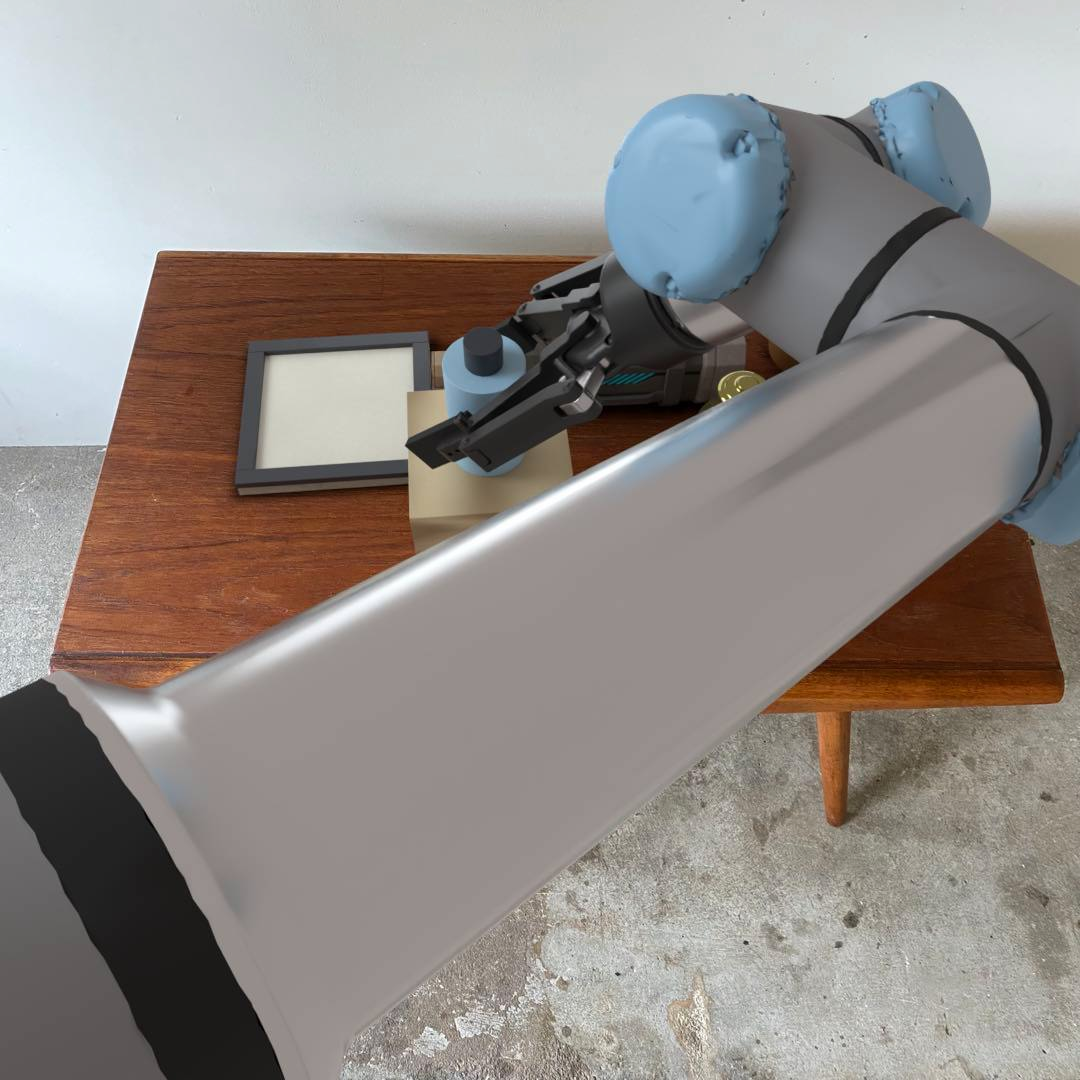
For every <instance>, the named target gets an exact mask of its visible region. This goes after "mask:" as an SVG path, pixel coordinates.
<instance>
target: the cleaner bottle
mask: <svg viewBox="0 0 1080 1080" xmlns="http://www.w3.org/2000/svg"><path fill="white" fill-rule="evenodd" d="M445 351H446V352H445V354H444V357H443V360H442V369H443V378H444V388H445V397H446V407H447V416H448V419H450V418H452V417H454V416H456V415H457V414H458V413H459V412H460V411H462V412H464V411H466V410H468V411H469V412H470V413H471V414H472V415H474V414H475V413H476V412H478V411H479V410H480V409H481V408H483V407H484V406H485V405H486V404H488V403H489V402H490V401H491V400H493V399H494V398H495V397H496V396H498V395H499V394H500V393H501V392H503V391H504V390H505V389H507V388H508V387H509V386H510V385H512V384H513V383H514V382H515V381H517V380H518V379H519V378H520V377H522V376H523V375H524V374H525V373H526V359H525V355H524V353H523V351H522V349H521V348H520V347H519V346H518V345H517V344H516V343H515V342H514V341H512V340H511V339H509V338H507V337H505V336H503V335H501V334H500V333H499V332H498V331H496V330H495V329H492V327H490V326H489V327H488V326H478V327H475V328H472V329H470V330H469V331H467V332H466V333H465V335H464V336H462V337H460V338H458V339H456V340H455V341H453V342H452V343H451V344H450V346H449V347H448V348H447V349H446V350H445ZM524 455H525V452H524V453H523V454H521V455H519V456H517V457H516V458H514V459H512V460H510V461H508V462H507V463H505V464H503V465H501V466H500V467H498V468H496V469H494V470H492V471H491V472H488V473H487V472H485V471H484V470H483V469H482V468H481V467H479V466H478V465H477V464H476V463H475V462H474V461H472V460H471V459H470V458H469V457H466V458H463V459H461V460H459V461H456V463H457V464H458V465H459V466H460V467H461V468H462V469H464V470H465V471H467V472H469V473H471V474H474V475H478V476H485V477H491V476H498V475H502V474H505V473H507V472H509V471H511V470H512V469H514V468H515V467H516V466H517V465H518V464H519V463H520V462H521V461H522V459H523V457H524Z"/></svg>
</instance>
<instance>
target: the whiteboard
mask: <svg viewBox="0 0 1080 1080" xmlns="http://www.w3.org/2000/svg"><path fill="white" fill-rule="evenodd" d="M429 337H430V336H429V331H428V330H422V331H420V330H419V331H406V332H405V331H404V332H403V331H402V332H387V333H385V332H384V333H371V334H369V333H368V334H354V335H353V334H351V335H335V336H333V335H332V336H319V337H318V336H317V337H301V338H300V337H299V338H284V339H267V340H265V339H264V340H249V343H248V348H247V358H246V359H247V360H246V369H245V370H246V371H245V378H244V389H243V401H242V408H241V409H242V410H241V418H240V419H241V420H240V430H239V438H238V439H239V440H238V449H237V458H236V467H235V469H236V470H235V475H234V485H235V488H236V491H237V493H238V495H239V496H253V495H254V496H255V495H266V494H267V495H269V494H283V493H296V492H312V491H327V490H341V489H343V490H344V489H358V488H359V489H360V488H372V487H386V486H387V487H388V486H401V485H402V486H403V485H409V473H408V448H406V447H405V444H406V442H407V440H408V427H407V392H414V391H430V390H432V372H431V350H430V338H429Z"/></svg>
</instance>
